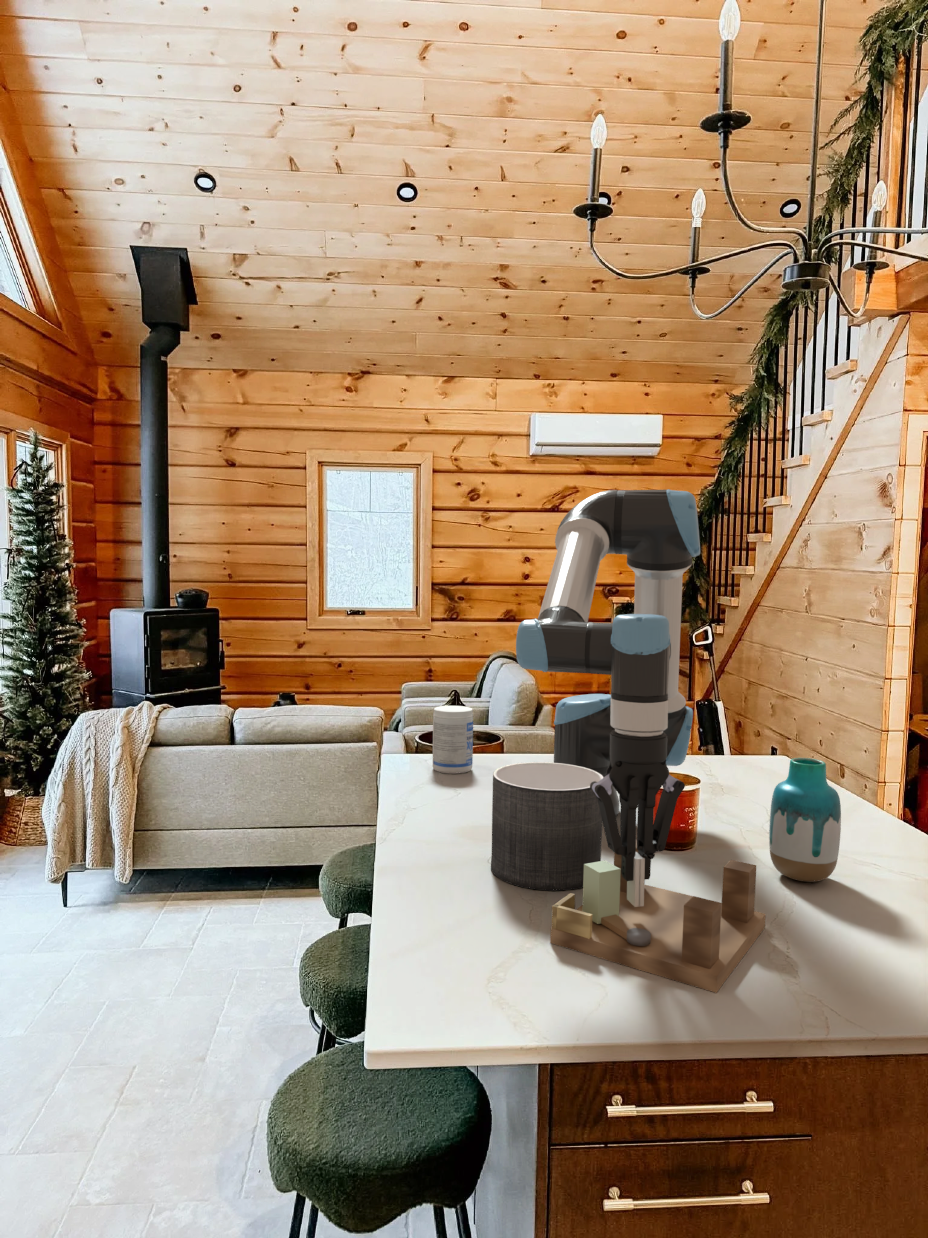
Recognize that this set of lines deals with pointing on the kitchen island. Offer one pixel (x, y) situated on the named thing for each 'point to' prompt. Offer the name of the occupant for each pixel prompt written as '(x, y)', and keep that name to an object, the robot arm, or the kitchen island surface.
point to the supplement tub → (452, 739)
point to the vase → (805, 823)
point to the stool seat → (672, 929)
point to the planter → (544, 824)
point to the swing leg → (608, 901)
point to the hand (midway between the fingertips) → (635, 902)
